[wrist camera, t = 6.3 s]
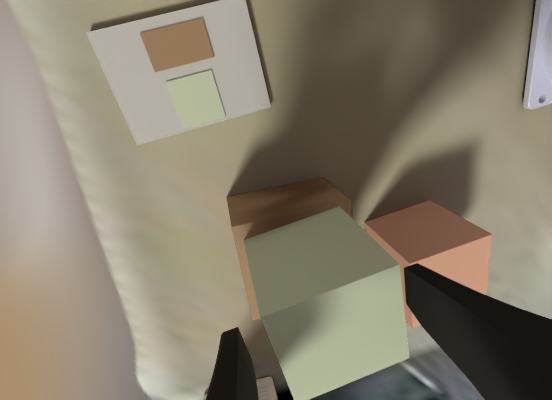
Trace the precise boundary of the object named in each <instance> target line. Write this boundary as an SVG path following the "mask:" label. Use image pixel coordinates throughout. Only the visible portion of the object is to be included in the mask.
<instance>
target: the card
mask: <svg viewBox="0 0 552 400" xmlns="http://www.w3.org/2000/svg"><path fill="white" fill-rule="evenodd" d="M86 34H87V36H88V38H89V41H90V43H91V45H92V47H93V49H94V52H95V54H96V56H97V58H98V60H99V62H100V65H101V67H102V69H103V71H104V73H105V76H106V78H107V80H108V82H109V84H110V87H111V89H112V91H113V93H114V95H115V98H116V100H117V102H118V104H119V106H120V108H121V111H122V113H123V115H124V117H125V119H126V122H127V124H128V126H129V128H130V130H131V133H132V135H133V137H134V139H135V141H136V144H137V145H140V144H144V143H147V142H151V141H154V140H158V139H161V138H165V137H168V136H172V135H175V134H179V133H182V132H186V131H189V130H193V129H196V128H200V127H203V126H207V125H210V124H214V123H217V122H221V121H225V120H228V119H232V118H235V117H239V116H242V115H246V114H249V113H253V112H256V111H260V110H263V109H267V108H270V107H271V105H270V101H269V96H268V92H267V88H266V84H265V80H264V75H263V71H262V67H261V63H260V59H259V54H258V50H257V46H256V42H255V38H254V33H253V29H252V25H251V21H250V17H249V12H248V8H247V4H246V0H219V1H215V2H211V3H207V4H203V5H199V6H194V7H190V8H186V9H182V10H178V11H174V12H170V13H165V14H161V15H157V16H153V17H149V18H145V19H140V20H136V21H132V22H128V23H124V24H120V25H115V26H111V27H107V28H103V29H99V30H95V31H90V32H86Z"/></svg>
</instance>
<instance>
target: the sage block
mask: <svg viewBox="0 0 552 400" xmlns="http://www.w3.org/2000/svg"><path fill="white" fill-rule="evenodd" d="M243 241H244V246H245V250H246V255H247V259H248V264H249V268H250V273H251V277H252V282H253V286H254V291H255V295H256V300H257V304H258V309H259V313H260V318H261V320H262V323H263V325H264V328H265V330H266V332H267V335H268V337H269V340H270V342H271V345H272V347H273V350H274V352H275V354H276V357H277V359H278V362H279V364H280V367H281V369H282V371H283V374H284V376H285V379H286V381H287V384H288V386H289V389H290V391H291V393H292V396H293V398H294V400H309V399H311V398H314V397H316V396H319V395H321V394H323V393H326V392H328V391H331V390H333V389H335V388H338V387H340V386H343V385H345V384H348V383H350V382H352V381H355V380H357V379H360V378H362V377H364V376H367V375H369V374H372V373H374V372H377V371H379V370H381V369H384V368H386V367H389V366H391V365H394V364H396V363H398V362H401V361H403V360H406V359H408V358H409V350H408V340H407V330H406V321H405V311H404V301H403V292H402V282H401V272H400V264H399V263H398V262H397V261H396V260H395V259H394V258H392V257H391V256H390V255H389V254H388V253H387V252H386V251H385V250H384V249H383V248H382V247H381V246H380V245H379V244H378V243H377V242H376V241H375V240H374V239H373V238H372V237H371V236H370V235H369V234H368V233H367V232H366V231H365V230H364V229H363V228H361V227H360V226H359V225H358V224H357V223H356V222H355V221H354V220H353V219H352V218H351V217H350V216H349V215H348V214H347V213H346V212H345V211H344V210H343V209H342V208H341V207H340V206H338V207H335V208H333V209H330V210H327V211H324V212H321V213H319V214H316V215H313V216H310V217H307V218H305V219H302V220H299V221H296V222H293V223H291V224H288V225H285V226H282V227H279V228H276V229H274V230H271V231H268V232H265V233H262V234H260V235H257V236H254V237H251V238H248V239H246V240H243Z"/></svg>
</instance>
